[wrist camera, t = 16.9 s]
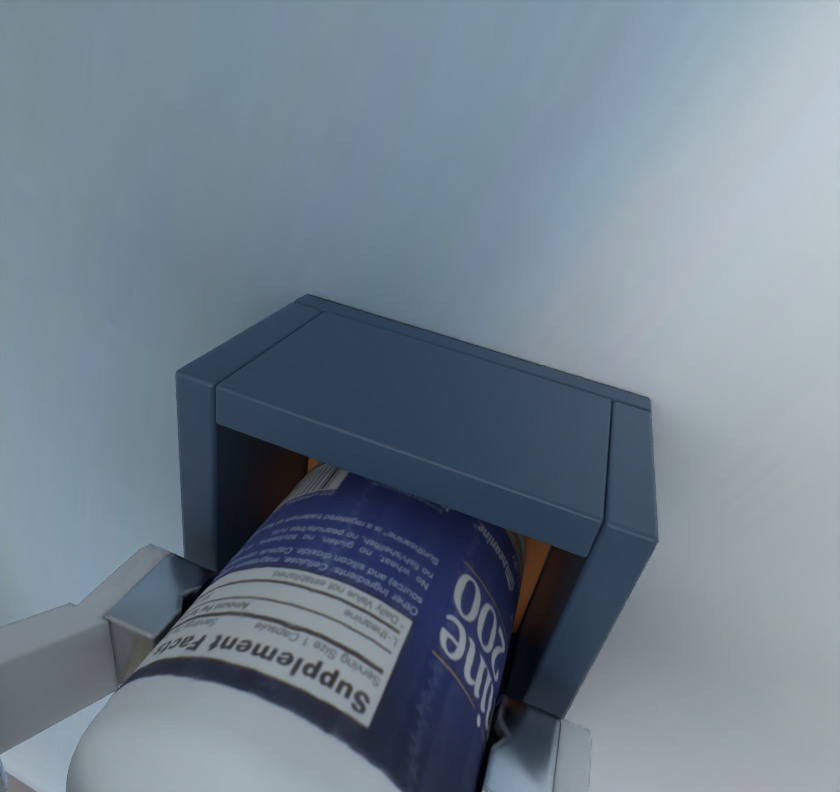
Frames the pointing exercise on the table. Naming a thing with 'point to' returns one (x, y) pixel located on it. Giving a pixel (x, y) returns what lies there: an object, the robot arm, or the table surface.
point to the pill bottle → (324, 656)
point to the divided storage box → (431, 462)
